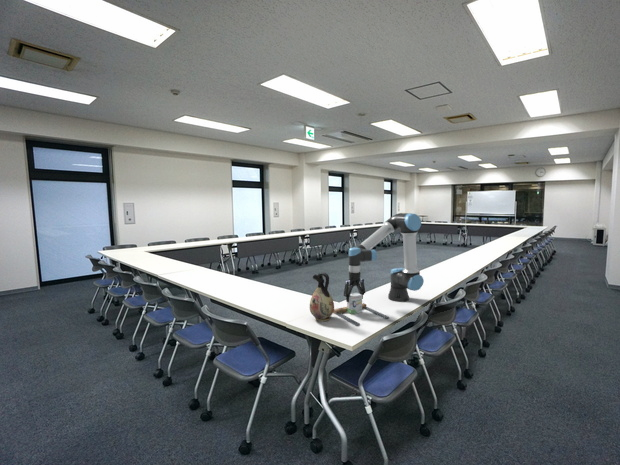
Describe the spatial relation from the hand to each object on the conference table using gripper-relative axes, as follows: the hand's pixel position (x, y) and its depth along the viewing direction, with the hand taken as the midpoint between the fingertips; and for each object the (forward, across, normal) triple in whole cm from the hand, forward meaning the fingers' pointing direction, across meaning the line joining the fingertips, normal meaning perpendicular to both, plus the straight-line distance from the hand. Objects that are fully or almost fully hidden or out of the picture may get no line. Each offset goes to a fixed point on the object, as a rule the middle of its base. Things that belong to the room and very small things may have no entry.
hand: (354, 305), depth 196 cm
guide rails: (+5, 0, +8) cm, 9 cm away
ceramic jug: (+5, +24, 0) cm, 25 cm away
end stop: (+5, 0, -5) cm, 7 cm away
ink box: (+5, 0, 0) cm, 5 cm away
